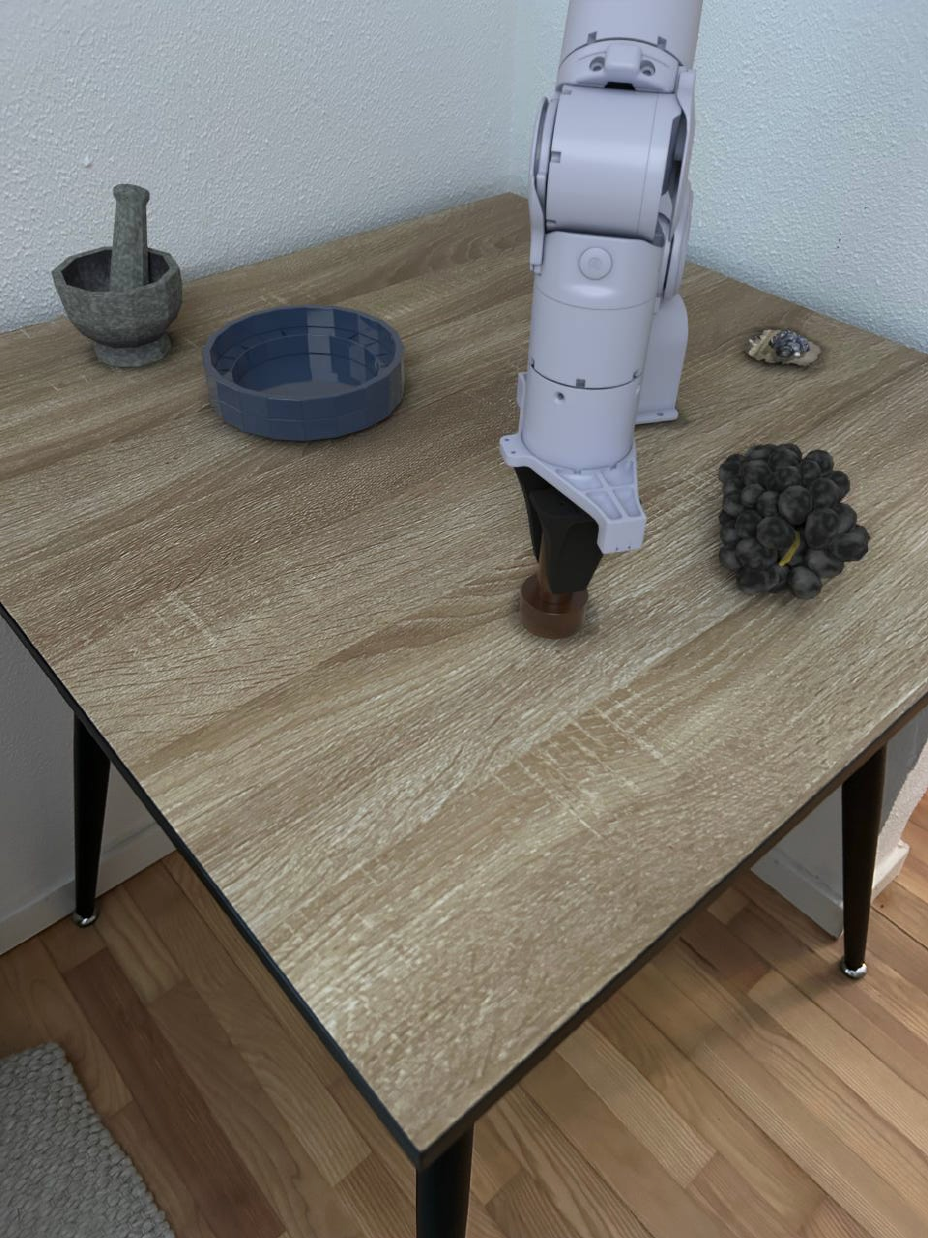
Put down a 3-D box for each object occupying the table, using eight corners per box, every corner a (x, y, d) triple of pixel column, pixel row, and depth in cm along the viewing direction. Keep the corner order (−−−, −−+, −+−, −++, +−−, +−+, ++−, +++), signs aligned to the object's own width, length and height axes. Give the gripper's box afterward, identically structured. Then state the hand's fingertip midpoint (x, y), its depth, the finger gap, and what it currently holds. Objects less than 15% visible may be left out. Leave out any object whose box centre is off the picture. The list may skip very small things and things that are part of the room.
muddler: (572, 590, 61) (588, 470, 55) (594, 633, 58) (614, 511, 52) (510, 599, 60) (520, 478, 54) (530, 644, 57) (542, 521, 51)
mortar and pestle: (163, 384, 78) (132, 234, 70) (53, 371, 79) (10, 221, 71) (213, 321, 86) (191, 180, 78) (113, 310, 87) (81, 170, 79)
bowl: (384, 341, 84) (382, 296, 82) (422, 434, 74) (422, 387, 71) (204, 358, 81) (196, 312, 79) (217, 458, 71) (209, 409, 68)
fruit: (745, 364, 64) (785, 493, 53) (854, 407, 65) (916, 542, 54) (680, 467, 70) (704, 604, 58) (782, 505, 71) (825, 646, 60)
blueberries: (743, 368, 82) (748, 348, 81) (739, 326, 88) (743, 306, 87) (825, 377, 82) (831, 356, 80) (815, 333, 88) (821, 313, 86)
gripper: (469, 302, 52) (462, 509, 61) (555, 450, 42) (531, 671, 51) (593, 291, 53) (569, 495, 63) (706, 431, 43) (657, 650, 52)
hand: (560, 573), depth 57 cm, fingers closed on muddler, 2 cm apart
